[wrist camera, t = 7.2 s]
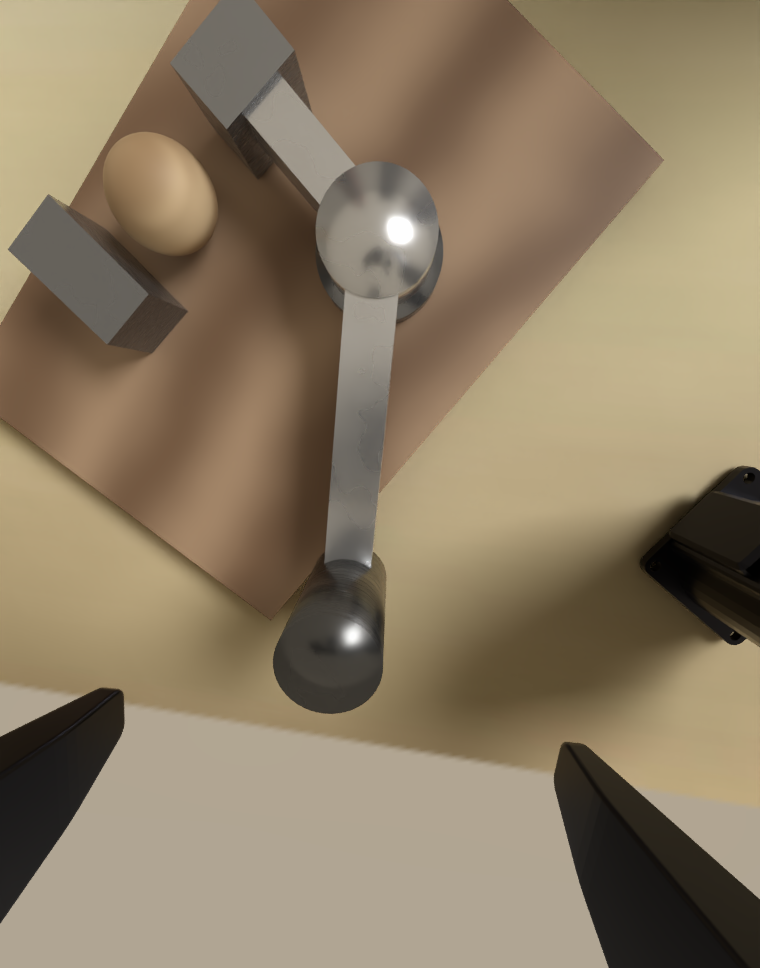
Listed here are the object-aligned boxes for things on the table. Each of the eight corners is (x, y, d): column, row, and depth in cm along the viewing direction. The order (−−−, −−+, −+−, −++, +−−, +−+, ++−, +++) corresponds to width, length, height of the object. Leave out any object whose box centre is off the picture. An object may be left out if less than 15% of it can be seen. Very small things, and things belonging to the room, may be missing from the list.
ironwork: (435, 188, 16) (444, 144, 13) (443, 323, 17) (453, 307, 14) (61, 233, 17) (-5, 200, 14) (89, 359, 18) (33, 352, 15)
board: (644, 177, 17) (664, 160, 15) (277, 607, 21) (270, 619, 20) (315, -156, 15) (307, -204, 14) (-11, 390, 19) (-38, 389, 18)
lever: (213, 57, 15) (60, -235, 8) (451, 79, 15) (501, -199, 8) (206, 585, 19) (101, 688, 12) (391, 605, 19) (390, 720, 12)
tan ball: (251, 212, 16) (211, 160, 13) (200, 288, 17) (148, 258, 13) (176, 148, 16) (114, 75, 12) (127, 227, 16) (54, 180, 13)
